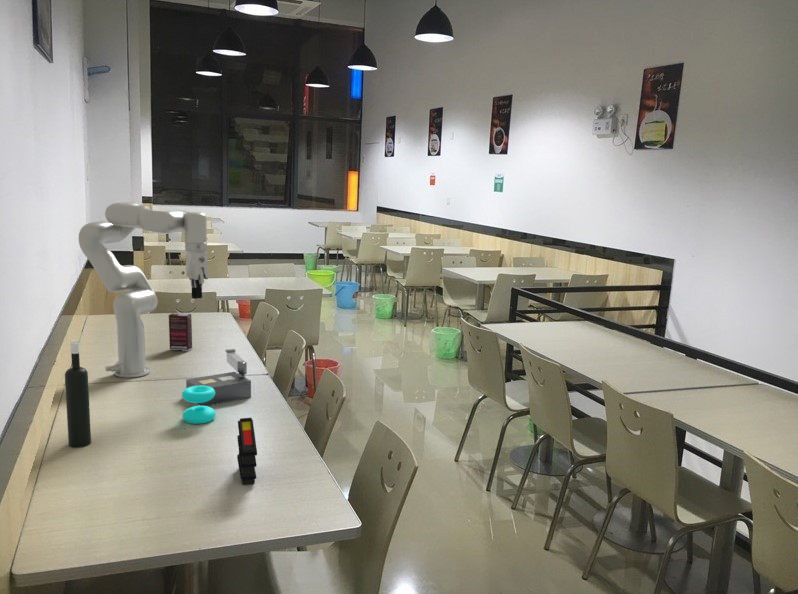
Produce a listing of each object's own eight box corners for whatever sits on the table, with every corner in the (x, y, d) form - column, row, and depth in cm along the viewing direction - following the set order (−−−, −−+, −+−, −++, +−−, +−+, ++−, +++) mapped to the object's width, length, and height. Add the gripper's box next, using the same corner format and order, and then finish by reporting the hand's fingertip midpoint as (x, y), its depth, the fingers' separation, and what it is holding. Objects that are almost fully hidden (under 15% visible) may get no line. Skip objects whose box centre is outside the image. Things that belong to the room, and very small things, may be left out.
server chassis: (201, 406, 222) (201, 387, 221) (186, 396, 232) (186, 377, 231) (256, 396, 234) (256, 378, 233) (240, 386, 244) (240, 369, 243)
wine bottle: (66, 448, 186) (61, 343, 180) (70, 440, 191) (65, 338, 186) (89, 446, 187) (84, 343, 182) (92, 438, 193) (87, 338, 187)
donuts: (216, 392, 206) (182, 395, 203) (217, 423, 208) (183, 426, 204) (213, 383, 215) (181, 385, 212) (214, 412, 217) (181, 415, 214)
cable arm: (248, 373, 236) (248, 361, 235) (239, 375, 235) (239, 362, 234) (234, 360, 252) (234, 349, 251) (225, 361, 251) (225, 349, 250)
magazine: (250, 455, 181) (252, 416, 173) (255, 495, 171) (258, 455, 163) (236, 456, 180) (238, 417, 172) (240, 496, 170) (242, 457, 161)
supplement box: (192, 349, 293) (192, 313, 290) (188, 351, 288) (187, 315, 286) (173, 347, 294) (172, 312, 291) (169, 350, 289) (168, 314, 286)
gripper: (214, 249, 234) (215, 300, 237) (197, 244, 245) (198, 293, 249) (193, 250, 229) (194, 302, 232) (177, 245, 241) (179, 295, 244)
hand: (196, 297), depth 240 cm, fingers closed
